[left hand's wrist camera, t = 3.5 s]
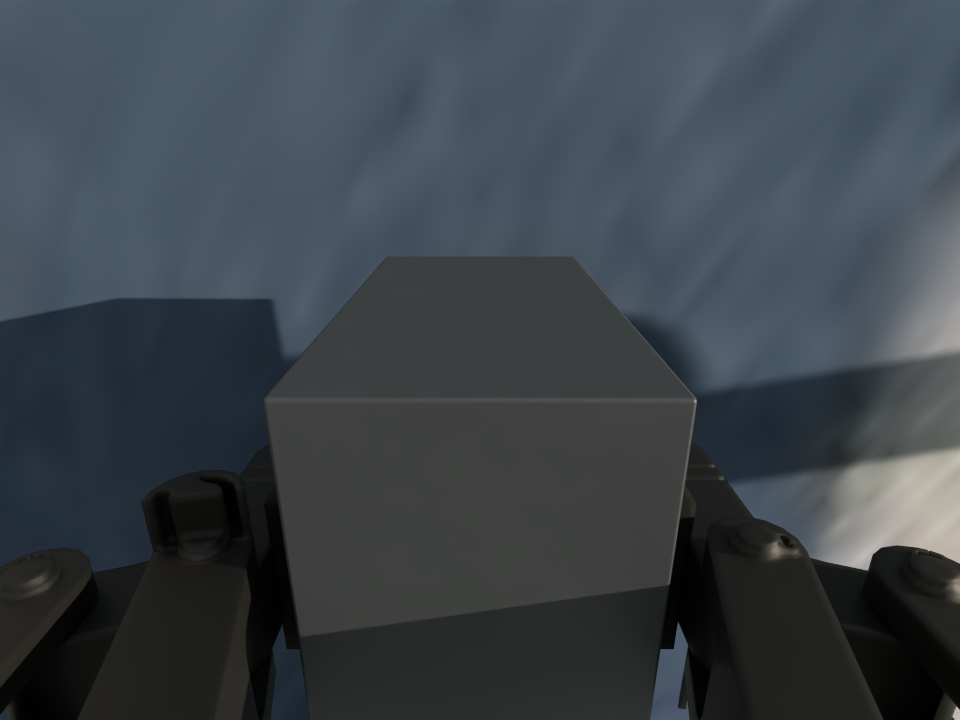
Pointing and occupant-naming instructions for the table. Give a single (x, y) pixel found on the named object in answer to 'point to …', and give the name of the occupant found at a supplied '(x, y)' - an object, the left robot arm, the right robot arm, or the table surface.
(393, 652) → the bar
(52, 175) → the table surface
